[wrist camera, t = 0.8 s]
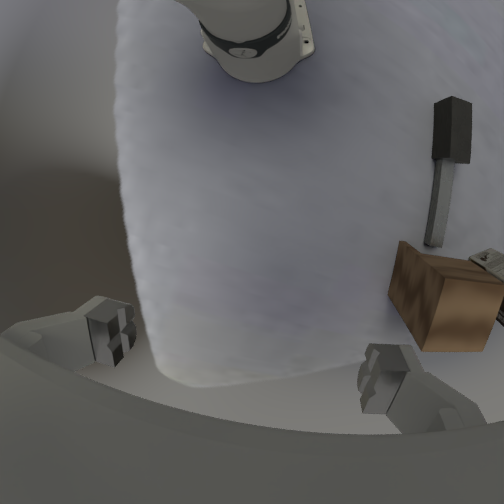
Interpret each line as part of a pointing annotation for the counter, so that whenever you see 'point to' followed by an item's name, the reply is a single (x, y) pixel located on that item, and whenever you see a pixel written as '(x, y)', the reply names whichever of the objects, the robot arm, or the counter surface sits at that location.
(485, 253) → the coffee box
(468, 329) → the walnut cabinet
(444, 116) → the dark grey elongated piece
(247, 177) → the counter surface
